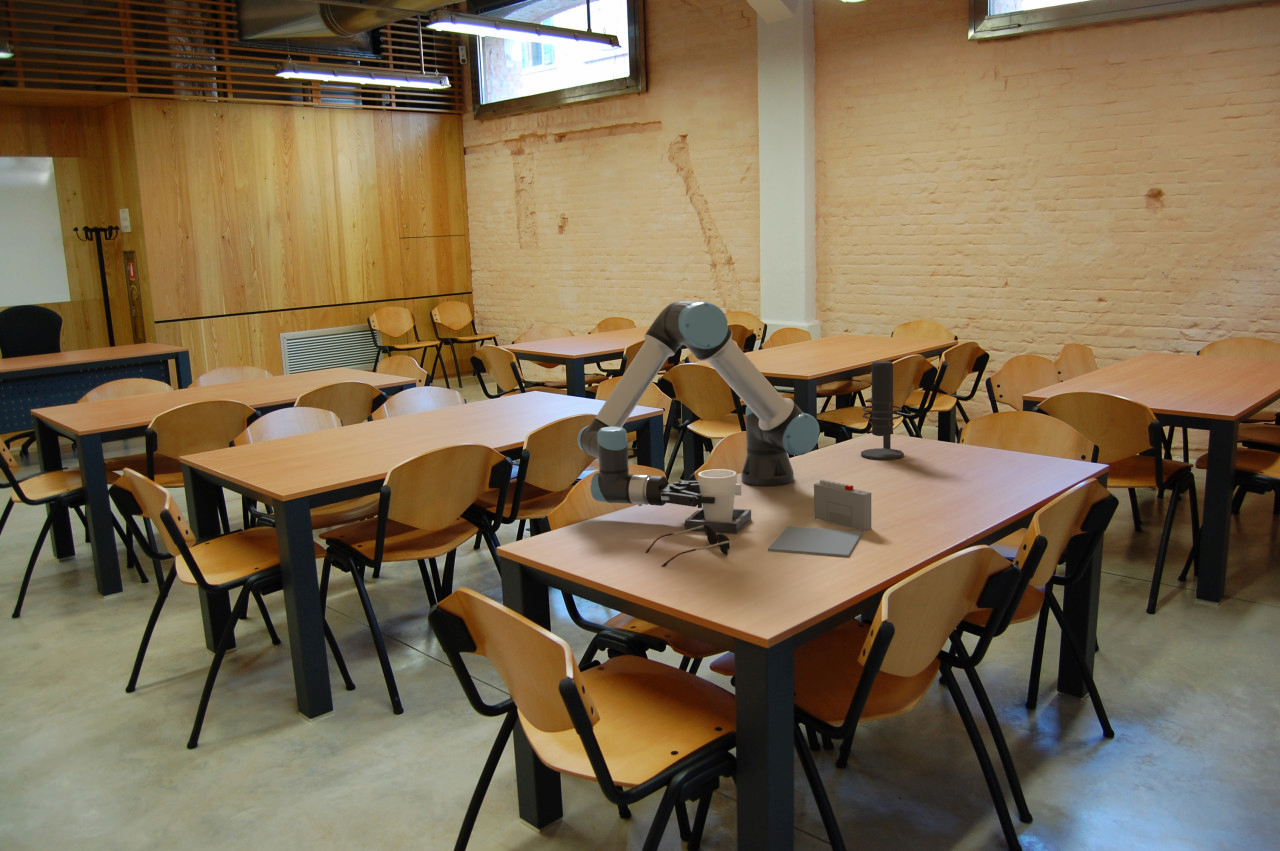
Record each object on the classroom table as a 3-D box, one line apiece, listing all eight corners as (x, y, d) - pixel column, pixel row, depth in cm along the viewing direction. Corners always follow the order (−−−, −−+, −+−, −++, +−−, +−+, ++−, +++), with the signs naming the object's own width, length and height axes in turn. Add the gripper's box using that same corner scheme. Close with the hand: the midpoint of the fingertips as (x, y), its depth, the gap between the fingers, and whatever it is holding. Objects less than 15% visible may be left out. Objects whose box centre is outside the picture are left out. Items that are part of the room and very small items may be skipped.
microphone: (852, 452, 311) (851, 360, 306) (889, 448, 315) (890, 358, 309) (873, 461, 298) (873, 365, 292) (912, 457, 301) (912, 362, 295)
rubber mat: (787, 528, 233) (787, 526, 233) (862, 533, 226) (862, 531, 226) (768, 550, 216) (767, 548, 216) (848, 557, 210) (848, 554, 210)
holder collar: (702, 515, 247) (701, 506, 246) (751, 519, 242) (751, 509, 241) (685, 530, 235) (684, 520, 234) (736, 534, 230) (736, 523, 229)
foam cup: (744, 522, 240) (743, 471, 237) (727, 531, 232) (725, 479, 230) (710, 517, 245) (709, 467, 242) (692, 527, 237) (691, 475, 235)
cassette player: (871, 529, 229) (871, 488, 227) (864, 531, 228) (863, 490, 226) (821, 516, 242) (821, 478, 240) (814, 518, 240) (813, 479, 238)
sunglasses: (732, 559, 213) (730, 538, 212) (664, 574, 208) (662, 552, 207) (707, 542, 226) (705, 522, 225) (643, 556, 221) (641, 536, 220)
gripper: (666, 493, 254) (747, 498, 246) (633, 516, 234) (721, 522, 226) (664, 466, 253) (747, 469, 245) (632, 486, 233) (720, 491, 224)
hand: (734, 495), depth 235 cm, fingers closed on foam cup, 9 cm apart
